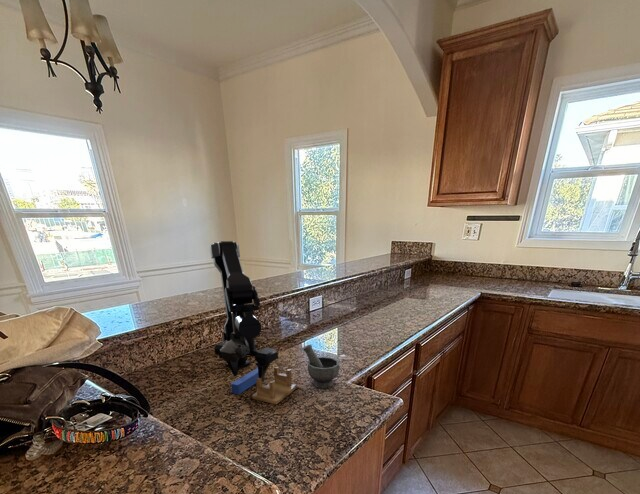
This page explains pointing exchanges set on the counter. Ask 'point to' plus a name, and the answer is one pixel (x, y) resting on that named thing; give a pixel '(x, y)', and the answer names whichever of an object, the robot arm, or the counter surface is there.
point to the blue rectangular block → (244, 382)
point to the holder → (275, 387)
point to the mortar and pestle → (321, 368)
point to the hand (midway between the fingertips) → (248, 378)
